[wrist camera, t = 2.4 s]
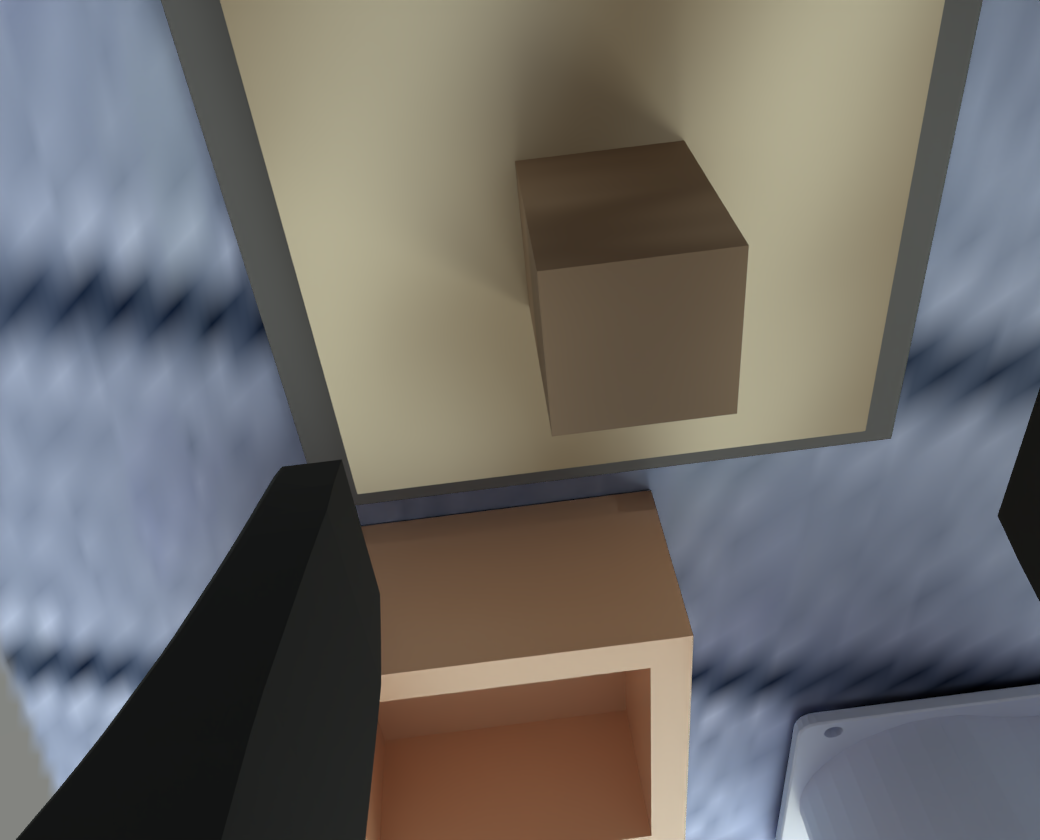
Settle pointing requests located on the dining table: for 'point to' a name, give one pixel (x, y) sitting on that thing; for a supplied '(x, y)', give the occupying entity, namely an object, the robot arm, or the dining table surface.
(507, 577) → the tan square open box
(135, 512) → the dining table surface
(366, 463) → the lid
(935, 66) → the mat
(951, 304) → the dining table surface
